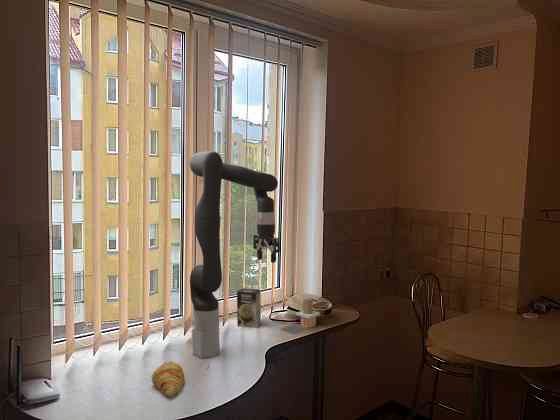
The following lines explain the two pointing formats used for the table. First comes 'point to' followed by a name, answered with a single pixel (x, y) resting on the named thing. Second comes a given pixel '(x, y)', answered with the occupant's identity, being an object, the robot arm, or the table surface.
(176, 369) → the croissant
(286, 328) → the mat
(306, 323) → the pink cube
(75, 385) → the table surface
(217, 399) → the table surface
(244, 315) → the coffee box
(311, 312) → the lid
